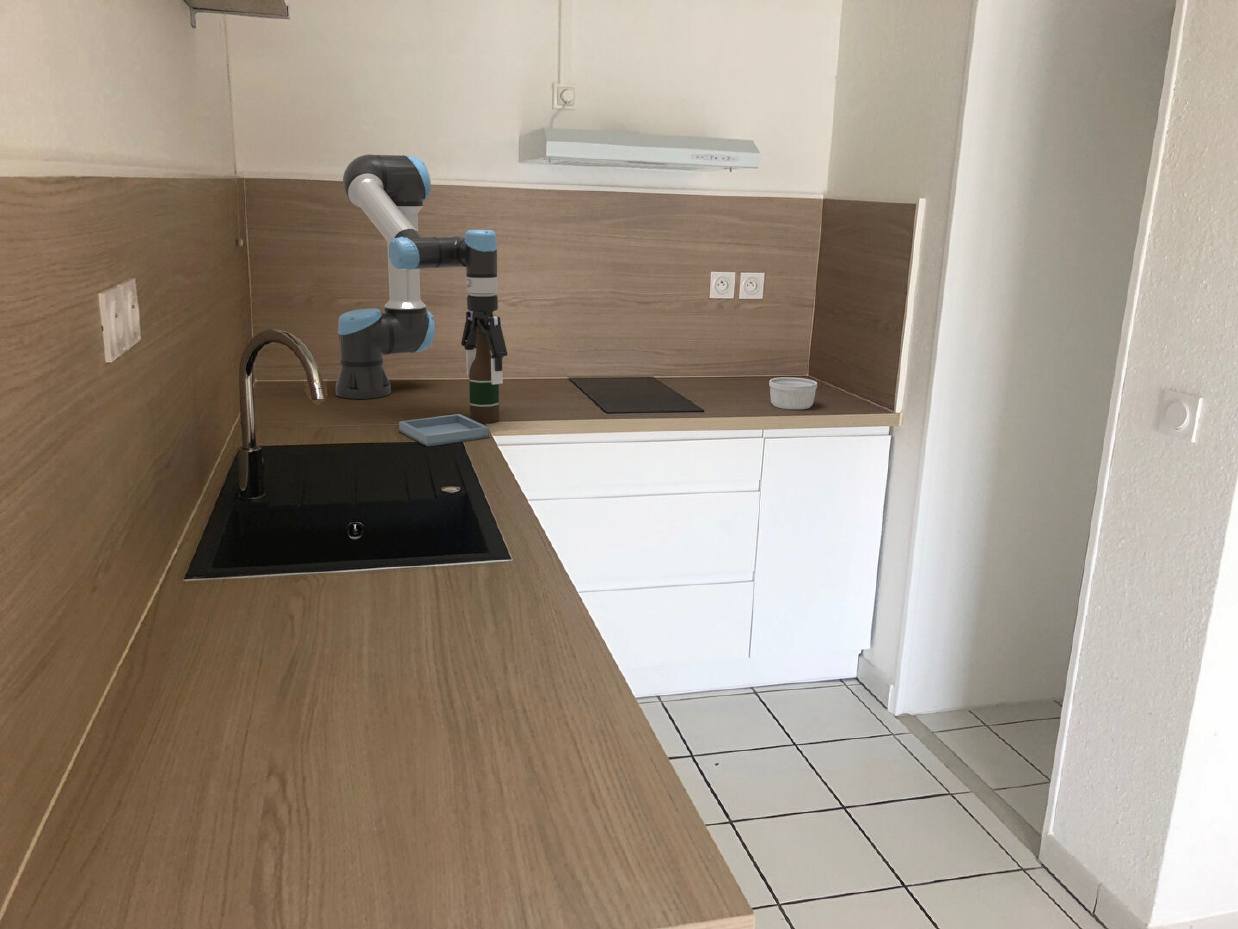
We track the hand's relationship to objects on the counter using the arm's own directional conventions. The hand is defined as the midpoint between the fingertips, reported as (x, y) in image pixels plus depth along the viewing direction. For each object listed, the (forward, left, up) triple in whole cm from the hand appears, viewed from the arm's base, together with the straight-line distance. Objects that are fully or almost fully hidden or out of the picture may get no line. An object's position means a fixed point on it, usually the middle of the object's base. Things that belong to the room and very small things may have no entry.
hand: (484, 379), depth 246 cm
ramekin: (+27, +82, -11) cm, 87 cm away
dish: (+8, -15, -11) cm, 20 cm away
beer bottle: (0, 0, -11) cm, 11 cm away
